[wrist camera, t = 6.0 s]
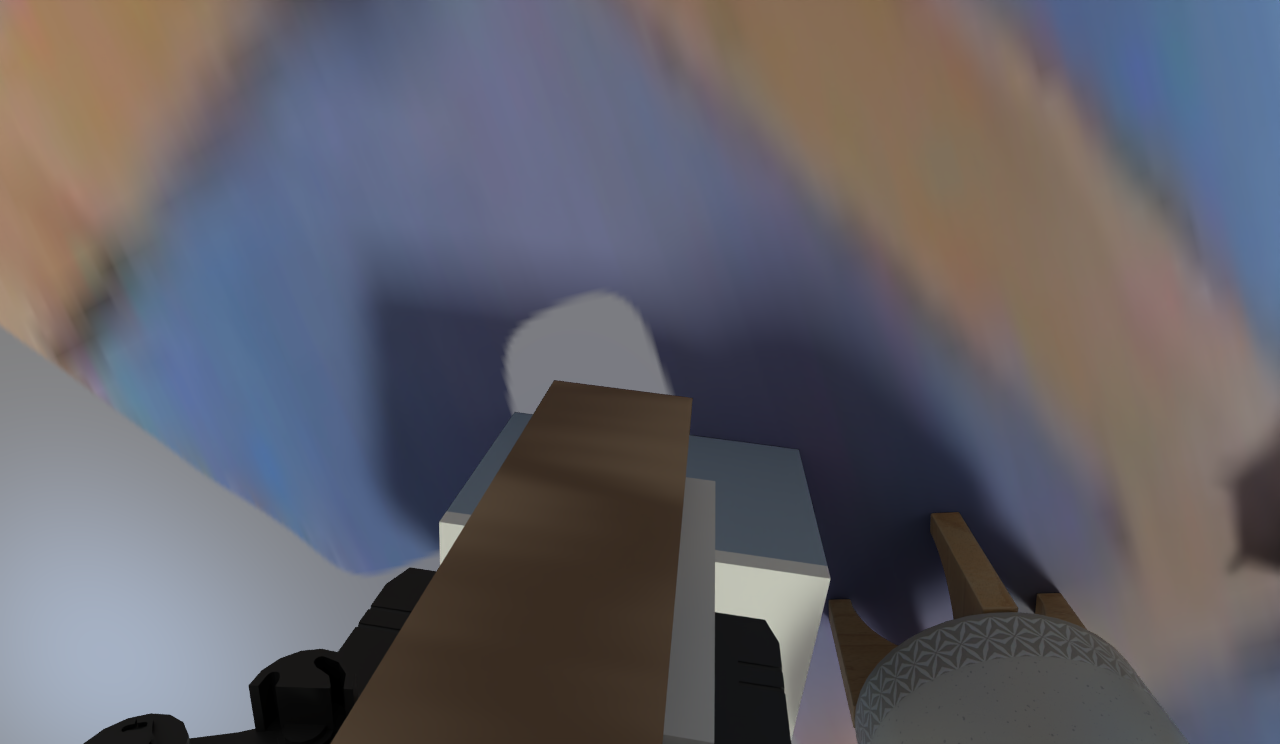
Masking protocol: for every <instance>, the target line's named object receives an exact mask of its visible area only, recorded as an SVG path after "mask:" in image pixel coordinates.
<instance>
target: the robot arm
mask: <svg viewBox="0 0 1280 744" xmlns="http://www.w3.org/2000/svg"><path fill="white" fill-rule="evenodd" d="M435 573H436V571H430V570H423V569H416V568H408V569H407V570H406V571H404V572H403V573H401V574H400V575H398V576H397V577H396V578H394V579H393V580H391V581H390V582H388V583H387V584H386V585H385V586H384V588H383V589H382V591H381V592H380V594H379V595H378V596H377V598H376V599H375V601H374V602H373V603H372V605H371V609H368V610H367V612H366V613H365V615H364V616H363V617H362V619H361V620H360V622H359V625H358V627H355V629H354V630H353V632H352V633H351V634H350V636H349V637H348V639H347V640H346V642H345V643H344V644H343V646H342V647H341V648H340V650H339V651H338V652H334V651H329V650H324V649H316V650H305V651H300V652H297V653H294V654H291V655H288V656H286V657H283V658H280V659H279V660H277V661H276V662H274V663H272V664H271V665H269V666H268V667H266V668H265V669H263V670H262V671H261V672H260V673H259V674H258V675H257V676H256V678H255V679H254V680H253V681H252V682H251V683H250V684H249V691H250V698H251V704H252V710H253V716H254V722H255V729H252V730H247V731H242V732H238V733H230V734H222V735H215V736H207V737H198V738H191V739H189V735H188V733H187V730H186V728H185V725H184V723H183V722H182V721H180V720H178V719H176V718H175V717H173V716H171V715H164V714H146V715H142V716H137V717H132V718H128V719H126V720H123V721H121V722H119V723H117V724H114V725H112V726H110V727H108V728H105V729H103V730H102V731H101V732H99V733H98V734H97V735H95V736H94V737H92V738H91V739H89V740H88V741H87V742H85V743H84V744H331V742H332V741H333V739H334V737H335V736H336V734H337V732H338V731H339V729H340V728H341V726H342V724H343V723H344V721H345V719H346V718H347V716H348V715H349V713H350V711H351V710H352V708H353V706H354V705H355V703H356V702H357V700H358V698H359V697H360V695H361V693H362V692H363V690H364V689H365V687H366V685H367V684H368V682H369V680H370V679H371V677H372V676H373V674H374V672H375V671H376V669H377V667H378V666H379V664H380V662H381V661H382V659H383V658H384V656H385V654H386V653H387V651H388V649H389V648H390V646H391V645H392V643H393V641H394V640H395V638H396V636H397V635H398V633H399V632H400V630H401V628H402V627H403V625H404V623H405V622H406V620H407V619H408V617H409V615H410V614H411V612H412V610H413V609H414V607H415V606H416V604H417V602H418V601H419V599H420V597H421V596H422V594H423V593H424V591H425V589H426V588H427V586H428V584H429V583H430V581H431V580H432V578H433V576H434V575H435ZM784 689H785V687H784V678H783V672H782V661H781V653H780V645H779V642H778V640H777V638H776V637H775V635H774V633H773V632H772V630H771V628H770V627H769V625H768V624H767V622H766V620H763V619H757V618H750V617H744V616H737V615H731V614H724V613H718V612H715V481H710V480H703V479H696V478H689V477H686V480H685V491H684V503H683V514H682V526H681V537H680V548H679V560H678V571H677V583H676V594H675V606H674V617H673V629H672V640H671V652H670V663H669V674H668V686H667V697H666V709H665V720H664V732H663V743H662V744H791V737H790V729H789V720H788V712H787V703H786V695H785V693H784Z"/></svg>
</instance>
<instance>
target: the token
mask: <svg viewBox="0 0 1280 744" xmlns="http://www.w3.org/2000/svg"><path fill="white" fill-rule="evenodd" d="M692 400H693V398H688V397H681V396H673V395H665V394H657V393H650V392H641V391H634V390H626V389H618V388H610V387H603V386H595V385H587V384H580V383H571V382H564V381H556V380H554V381H553V383H552V385H551V386H550V388H549V389H548V391H547V393H546V394H545V396H544V398H543V399H542V401H541V403H540V404H539V406H538V407H537V409H536V411H535V412H534V414H533V415H532V417H531V419H530V420H529V422H528V424H527V425H526V427H525V428H524V430H523V432H522V433H521V435H520V437H519V438H518V440H517V441H516V443H515V445H514V446H513V448H512V450H511V451H510V453H509V454H508V456H507V458H506V459H505V461H504V463H503V464H502V466H501V467H500V469H499V471H498V472H497V474H496V476H495V477H494V479H493V480H492V482H491V484H490V485H489V487H488V489H487V490H486V492H485V493H484V495H483V497H482V498H481V500H480V502H479V503H478V505H477V506H476V508H475V510H474V511H473V513H472V515H471V516H470V518H469V519H468V521H467V523H466V524H465V526H464V528H463V529H462V531H461V532H460V534H459V536H458V537H457V539H456V541H455V542H454V544H453V545H452V547H451V549H450V550H449V552H448V554H447V555H446V557H445V558H444V560H443V562H442V563H441V565H440V567H439V568H438V570H437V571H436V573H435V575H434V576H433V578H432V580H431V581H430V583H429V584H428V586H427V588H426V589H425V591H424V593H423V594H422V596H421V597H420V599H419V601H418V602H417V604H416V606H415V607H414V609H413V610H412V612H411V614H410V615H409V617H408V619H407V620H406V622H405V623H404V625H403V627H402V628H401V630H400V632H399V633H398V635H397V636H396V638H395V640H394V641H393V643H392V645H391V646H390V648H389V649H388V651H387V653H386V654H385V656H384V658H383V659H382V661H381V662H380V664H379V666H378V667H377V669H376V671H375V672H374V674H373V676H372V677H371V679H370V680H369V682H368V684H367V685H366V687H365V689H364V690H363V692H362V693H361V695H360V697H359V698H358V700H357V702H356V703H355V705H354V706H353V708H352V710H351V711H350V713H349V715H348V716H347V718H346V719H345V721H344V723H343V724H342V726H341V728H340V729H339V731H338V732H337V734H336V736H335V737H334V739H333V741H332V742H331V744H662V743H663V732H664V720H665V709H666V697H667V686H668V674H669V663H670V652H671V640H672V629H673V617H674V606H675V594H676V583H677V571H678V560H679V548H680V537H681V526H682V514H683V503H684V491H685V480H686V468H687V457H688V445H689V434H690V422H691V411H692Z"/></svg>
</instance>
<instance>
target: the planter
mask: <svg viewBox="0 0 1280 744" xmlns="http://www.w3.org/2000/svg"><path fill="white" fill-rule="evenodd" d="M930 533H931V535H932V537H933V539H934V541H935V544H936V547H937V549H938V552H939V555H940V558H941V562H942V565H943V569H944V572H945V576H946V580H947V585H948V589H949V594H950V600H951V605H952V611H953V619H954V620H950V621H946V622H944V623H941V624H938V625H936V626H933V627H931V628H928V629H925V630H924V631H922V632H920V633H918V634H916V635H914V636H912V637H910V638H909V639H907V640H906V641H904V642H903V643H901V644H900V645H899V646H898V645H895V644H893V643H891V642H890V641H888V640H886V639H885V638H883V637H881V636H880V635H878V634H877V633H876V632H874V631H873V630H872V629H871V628H870V627H868V626H867V625H866V624H865V623H864V622H863V620H862V619H861V618H860V617H859V616H858V614H857V613H856V611H855V610H854V608H853V606H852V603H851V600H850V599H835V600H829V601H828V602H829V621H830V625H831V630H832V634H833V639H834V643H835V647H836V652H837V656H838V661H839V665H840V670H841V674H842V679H843V683H844V687H845V692H846V696H847V701H848V705H849V710H850V714H851V718H852V723H853V727H854V728H855V730H856V738H857V742H858V744H1190V743H1189V742H1188V741H1187V739H1186V738H1185V737H1184V735H1183V734H1182V733H1181V732H1180V730H1179V729H1178V728H1177V726H1176V725H1175V724H1174V722H1173V721H1172V720H1171V718H1170V717H1169V716H1168V714H1167V713H1166V712H1165V710H1164V709H1163V708H1162V706H1161V705H1160V704H1159V702H1158V701H1157V700H1156V699H1155V697H1154V696H1153V695H1152V693H1151V692H1150V691H1149V689H1148V688H1147V687H1146V685H1145V684H1144V683H1143V681H1142V680H1141V679H1140V677H1139V676H1138V675H1137V673H1136V672H1135V671H1134V669H1133V668H1132V667H1131V666H1130V664H1129V663H1128V662H1127V660H1126V659H1125V658H1124V657H1123V656H1122V655H1121V654H1120V653H1119V652H1118V651H1117V650H1116V649H1115V648H1114V647H1113V646H1111V645H1110V644H1109V643H1107V642H1106V641H1105V640H1103V639H1102V638H1100V637H1099V636H1098V635H1096V634H1094V633H1092V632H1090V631H1088V630H1087V629H1086V628H1085V626H1084V625H1083V623H1082V622H1081V621H1080V619H1079V618H1078V617H1077V615H1076V614H1075V612H1074V611H1073V610H1072V608H1071V607H1070V606H1069V604H1068V603H1067V601H1066V600H1065V599H1064V597H1063V596H1062V595H1061V593H1041V594H1037V599H1036V610H1035V614H1030V613H1019V612H1018V607H1017V605H1016V604H1015V602H1014V601H1013V599H1012V597H1011V596H1010V594H1009V593H1008V591H1007V589H1006V588H1005V586H1004V584H1003V583H1002V581H1001V580H1000V578H999V576H998V575H997V573H996V571H995V570H994V568H993V567H992V565H991V563H990V562H989V560H988V558H987V557H986V555H985V554H984V552H983V550H982V549H981V547H980V546H979V544H978V542H977V541H976V539H975V537H974V536H973V534H972V533H971V531H970V529H969V528H968V526H967V524H966V523H965V521H964V520H963V518H962V516H961V515H960V513H959V512H950V513H932V514H931V523H930Z"/></svg>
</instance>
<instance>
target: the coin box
mask: <svg viewBox="0 0 1280 744" xmlns="http://www.w3.org/2000/svg"><path fill="white" fill-rule="evenodd" d="M532 415H533V414H525V413H518V412H515V413H514V414H513V415H512V417H511V418H510V420H509V421H508V423H507V424H506V426H505V427H504V429H503V430H502V431H501V433H500V434H499V436H498V437H497V439H496V440H495V442H494V443H493V445H492V446H491V447H490V449H489V450H488V452H487V453H486V455H485V456H484V458H483V459H482V461H481V462H480V463H479V465H478V466H477V468H476V469H475V471H474V472H473V474H472V475H471V477H470V478H469V479H468V481H467V482H466V484H465V485H464V487H463V488H462V490H461V491H460V492H459V494H458V495H457V497H456V498H455V500H454V501H453V503H452V504H451V506H450V507H449V508H448V510H447V511H446V513H445V514H444V516H443V517H442V519H441V520H440V522H439V536H440V565H441V563H442V562H443V560H444V558H445V557H446V555H447V554H448V552H449V550H450V549H451V547H452V545H453V544H454V542H455V541H456V539H457V537H458V536H459V534H460V532H461V531H462V529H463V528H464V526H465V524H466V523H467V521H468V519H469V518H470V516H471V515H472V513H473V511H474V510H475V508H476V506H477V505H478V503H479V502H480V500H481V498H482V497H483V495H484V493H485V492H486V490H487V489H488V487H489V485H490V484H491V482H492V480H493V479H494V477H495V476H496V474H497V472H498V471H499V469H500V467H501V466H502V464H503V463H504V461H505V459H506V458H507V456H508V454H509V453H510V451H511V450H512V448H513V446H514V445H515V443H516V441H517V440H518V438H519V437H520V435H521V433H522V432H523V430H524V428H525V427H526V425H527V424H528V422H529V420H530V419H531V417H532ZM686 477H689V478H696V479H703V480H710V481H715V612H718V613H724V614H731V615H737V616H744V617H750V618H757V619H763V620H766V622H767V624H768V625H769V627H770V628H771V630H772V632H773V633H774V635H775V637H776V638H777V640H778V642H779V645H780V653H781V661H782V672H783V678H784V687H785V689H784V693H785V695H786V703H787V712H788V720H789V729H790V737H791V739H792V735H793V731H794V727H795V723H796V718H797V714H798V710H799V706H800V702H801V698H802V694H803V690H804V686H805V682H806V678H807V673H808V669H809V665H810V661H811V657H812V653H813V649H814V645H815V641H816V637H817V633H818V628H819V624H820V620H821V616H822V612H823V608H824V604H825V600H826V596H827V592H828V587H829V583H830V579H831V578H830V574H829V570H828V566H827V562H826V558H825V554H824V550H823V546H822V542H821V538H820V534H819V530H818V526H817V522H816V518H815V514H814V510H813V506H812V502H811V498H810V493H809V489H808V485H807V481H806V477H805V473H804V469H803V465H802V461H801V457H800V453H799V450H798V449H790V448H782V447H775V446H767V445H760V444H752V443H745V442H737V441H730V440H722V439H715V438H707V437H699V436H692V435H689V445H688V457H687V468H686Z"/></svg>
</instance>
